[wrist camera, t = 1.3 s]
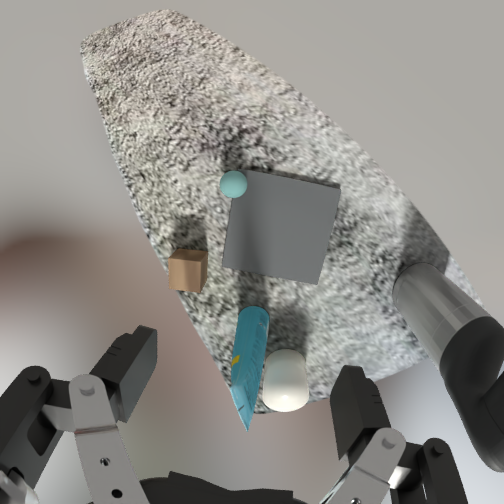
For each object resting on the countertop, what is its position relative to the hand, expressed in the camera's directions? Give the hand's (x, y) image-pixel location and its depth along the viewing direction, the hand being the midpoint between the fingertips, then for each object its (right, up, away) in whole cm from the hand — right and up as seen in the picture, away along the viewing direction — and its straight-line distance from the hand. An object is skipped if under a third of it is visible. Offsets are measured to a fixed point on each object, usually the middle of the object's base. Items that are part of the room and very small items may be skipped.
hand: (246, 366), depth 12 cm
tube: (0, -6, +34) cm, 34 cm away
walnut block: (-6, +2, +29) cm, 30 cm away
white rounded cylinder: (+6, -15, +36) cm, 39 cm away
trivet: (+4, +8, +29) cm, 30 cm away
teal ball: (-2, +14, +27) cm, 30 cm away
